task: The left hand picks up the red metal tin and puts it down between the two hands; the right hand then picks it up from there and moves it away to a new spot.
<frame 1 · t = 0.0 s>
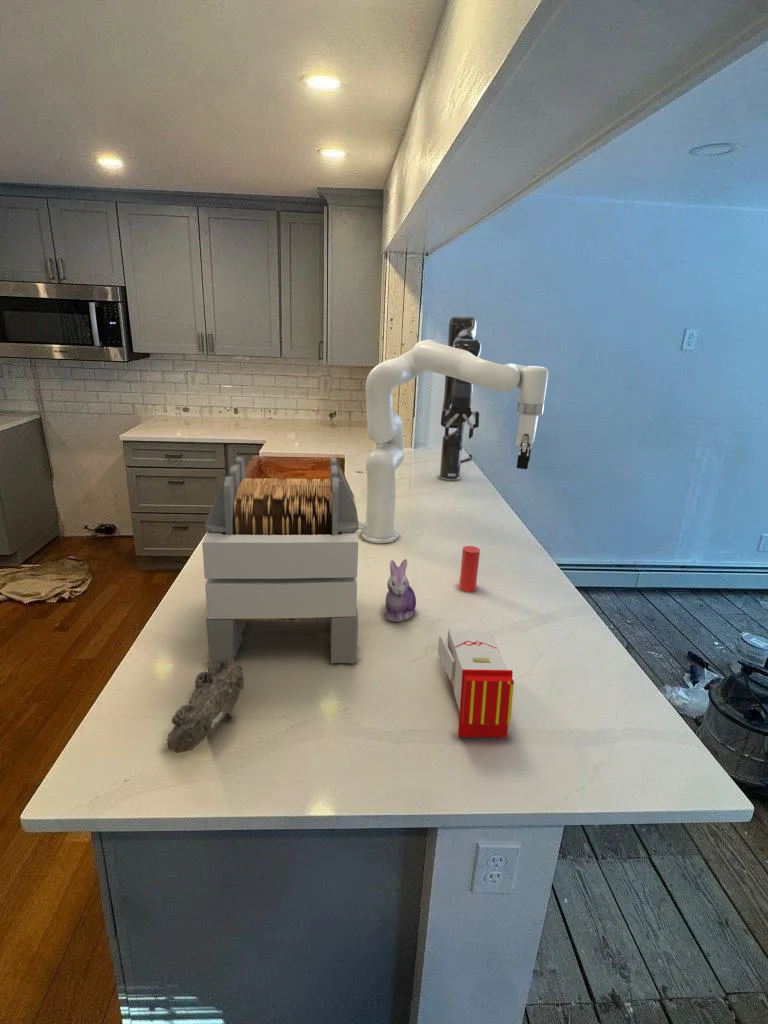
left hand: (523, 464, 174), 31 cm above the counter, tool pointing down, fingers open, 9 cm apart
right hand: (458, 437, 217), 29 cm above the counter, tool pointing down, fingers open, 8 cm apart
toy: (469, 691, 119), on the counter
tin: (467, 588, 163), on the counter
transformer: (287, 626, 140), on the counter
figurine: (399, 614, 147), on the counter
fossil: (212, 717, 108), on the counter
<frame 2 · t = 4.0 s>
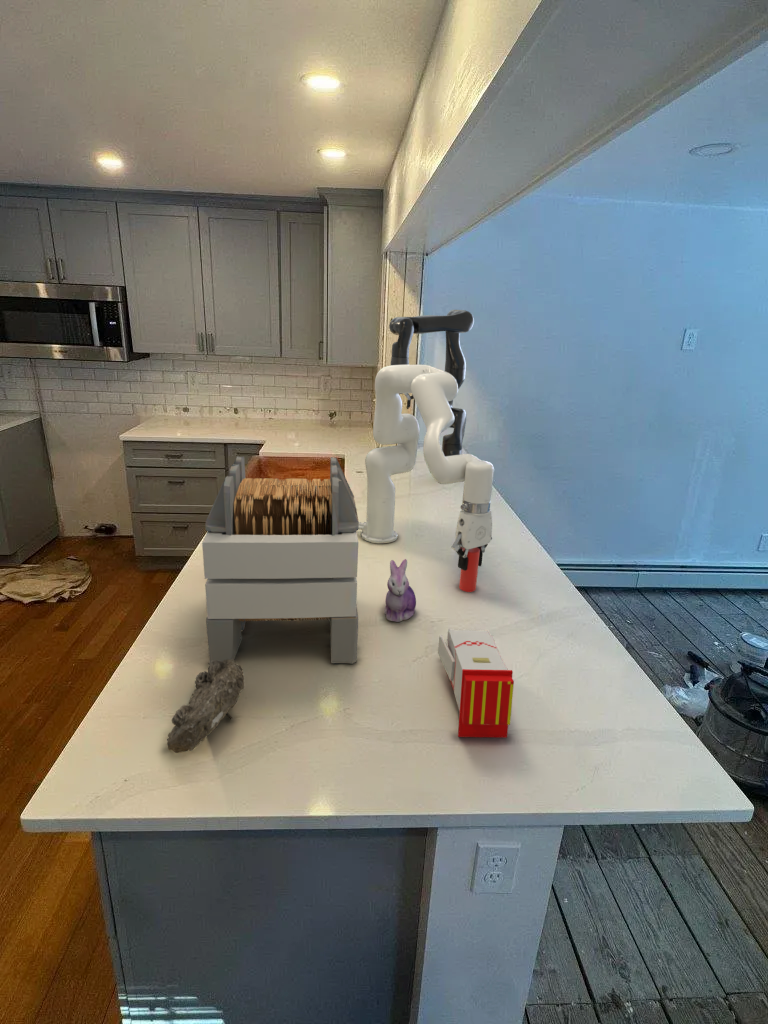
left hand: (469, 565, 161), 7 cm above the counter, tool pointing down, fingers closed on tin, 4 cm apart
right hand: (397, 408, 238), 35 cm above the counter, tool pointing down, fingers open, 8 cm apart
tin: (467, 588, 163), on the counter, touching left hand
everything else where it was.
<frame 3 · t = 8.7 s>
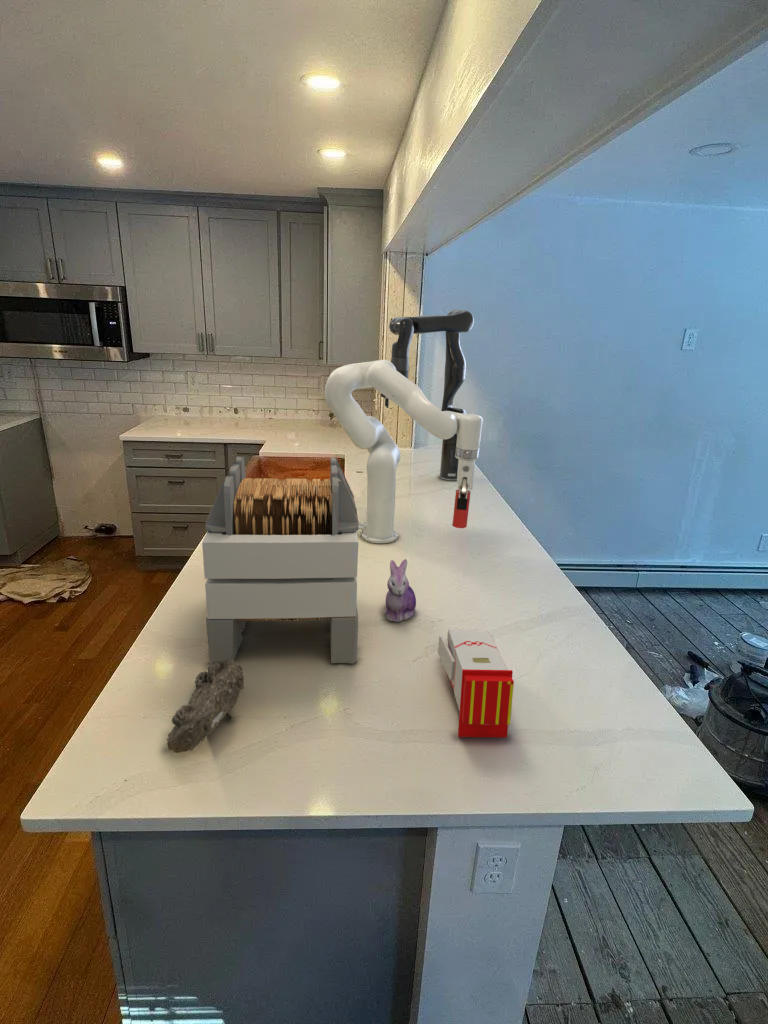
left hand: (461, 506, 188), 14 cm above the counter, tool pointing down, fingers closed on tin, 4 cm apart
right hand: (397, 408, 238), 35 cm above the counter, tool pointing down, fingers open, 8 cm apart
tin: (459, 525, 190), point 7 cm above the counter, touching left hand
everything else where it was.
when the left hand's fingers open (8 cm above the counter, at t = 13.6 s): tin drops 1 cm, on the counter.
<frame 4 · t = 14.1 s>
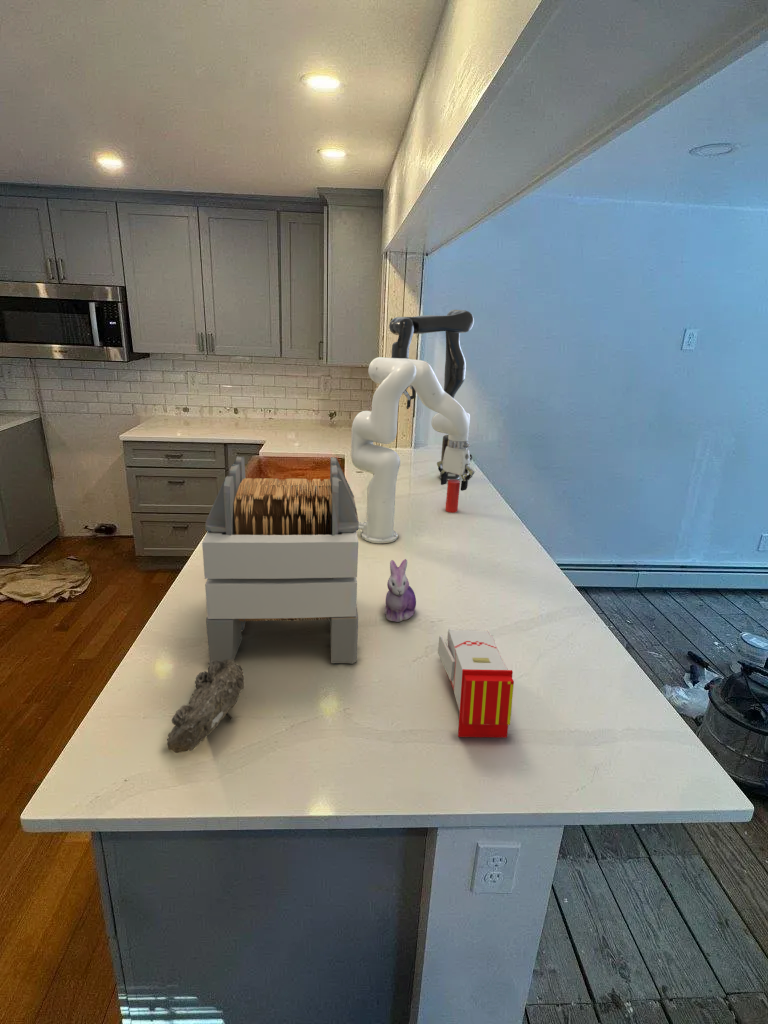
left hand: (453, 487, 222), 10 cm above the counter, tool pointing down, fingers open, 9 cm apart
right hand: (397, 408, 238), 35 cm above the counter, tool pointing down, fingers open, 8 cm apart
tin: (451, 510, 226), on the counter
everything else where it was.
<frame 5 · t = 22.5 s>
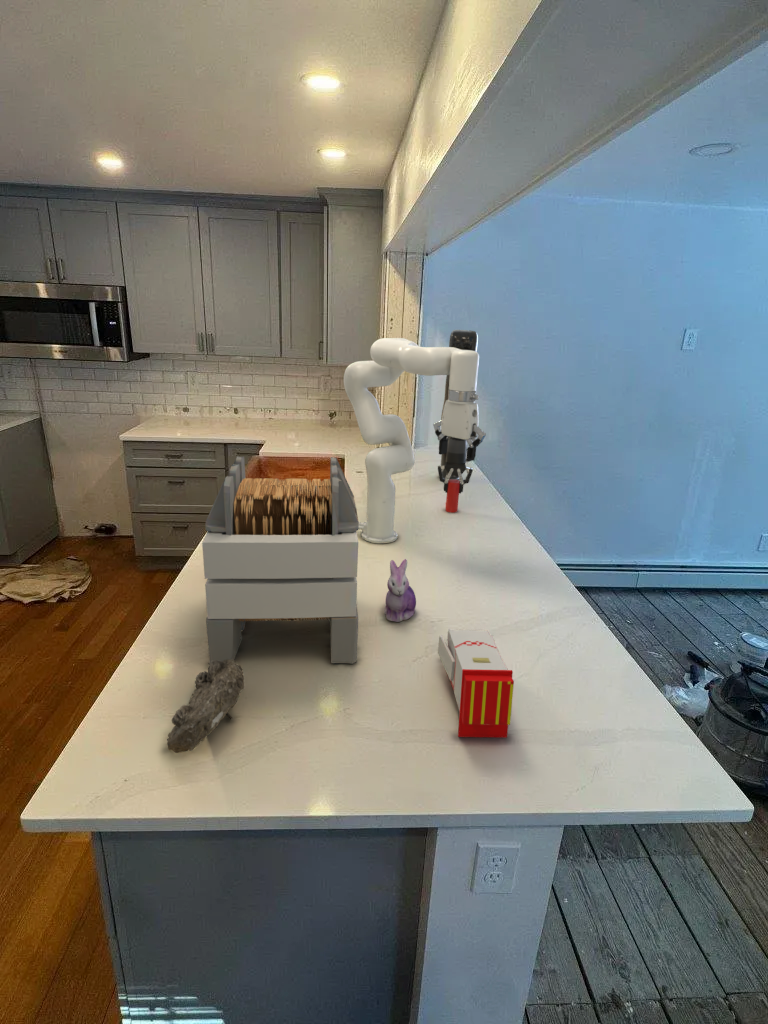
left hand: (456, 457, 162), 36 cm above the counter, tool pointing down, fingers open, 9 cm apart
right hand: (453, 492, 223), 8 cm above the counter, tool pointing down, fingers closed on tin, 4 cm apart
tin: (451, 510, 226), on the counter, touching right hand
everything else where it was.
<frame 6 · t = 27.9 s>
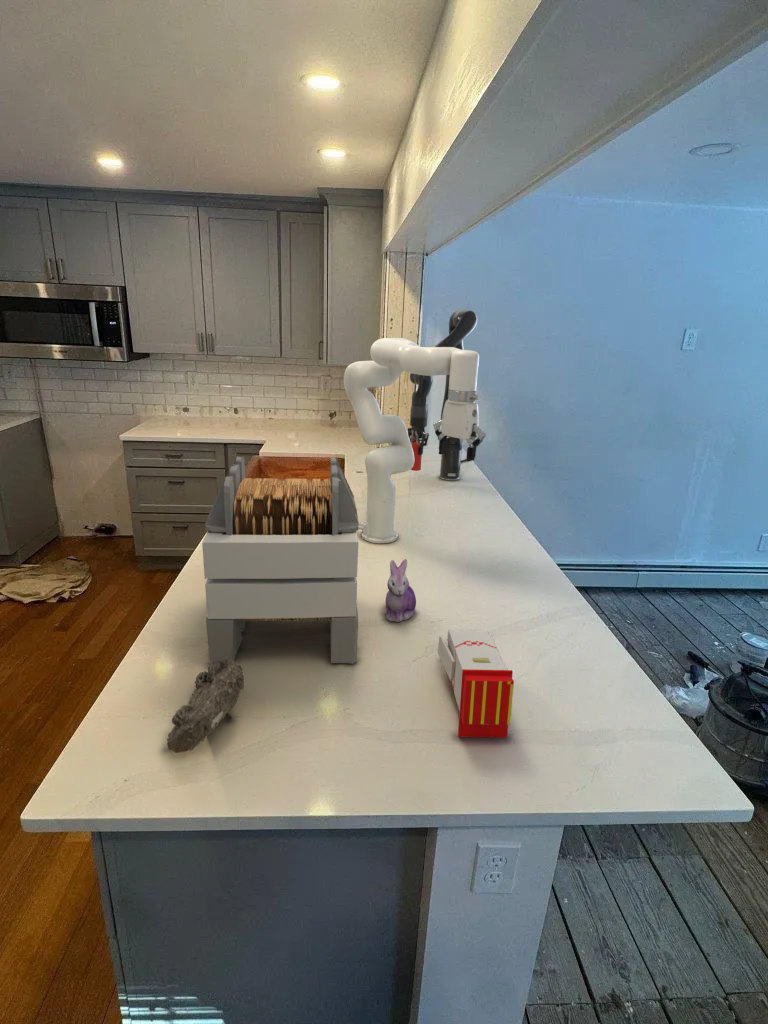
left hand: (456, 457, 162), 36 cm above the counter, tool pointing down, fingers open, 9 cm apart
right hand: (416, 452, 254), 14 cm above the counter, tool pointing down, fingers closed on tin, 4 cm apart
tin: (415, 469, 257), point 7 cm above the counter, touching right hand
everything else where it was.
when the right hand's fingers open (9 cm above the counter, at t = 33.7 s): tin drops 1 cm, on the counter.
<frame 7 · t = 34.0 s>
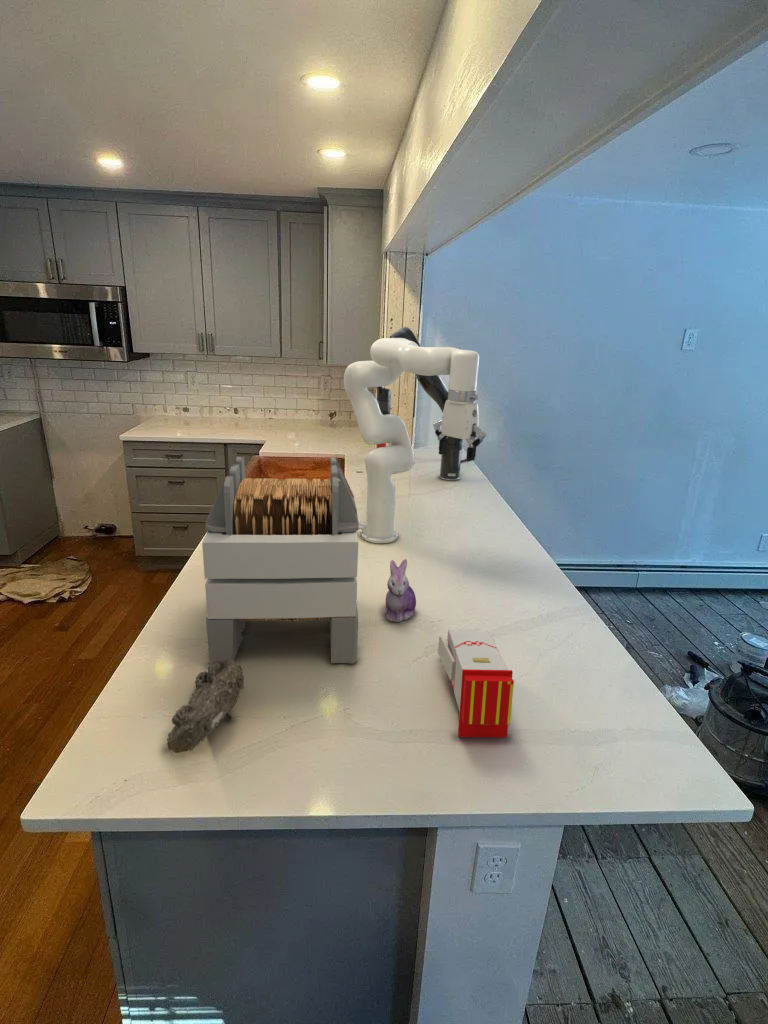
left hand: (456, 457, 162), 36 cm above the counter, tool pointing down, fingers open, 9 cm apart
right hand: (381, 441, 294), 10 cm above the counter, tool pointing down, fingers open, 7 cm apart
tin: (380, 459, 298), on the counter
everything else where it was.
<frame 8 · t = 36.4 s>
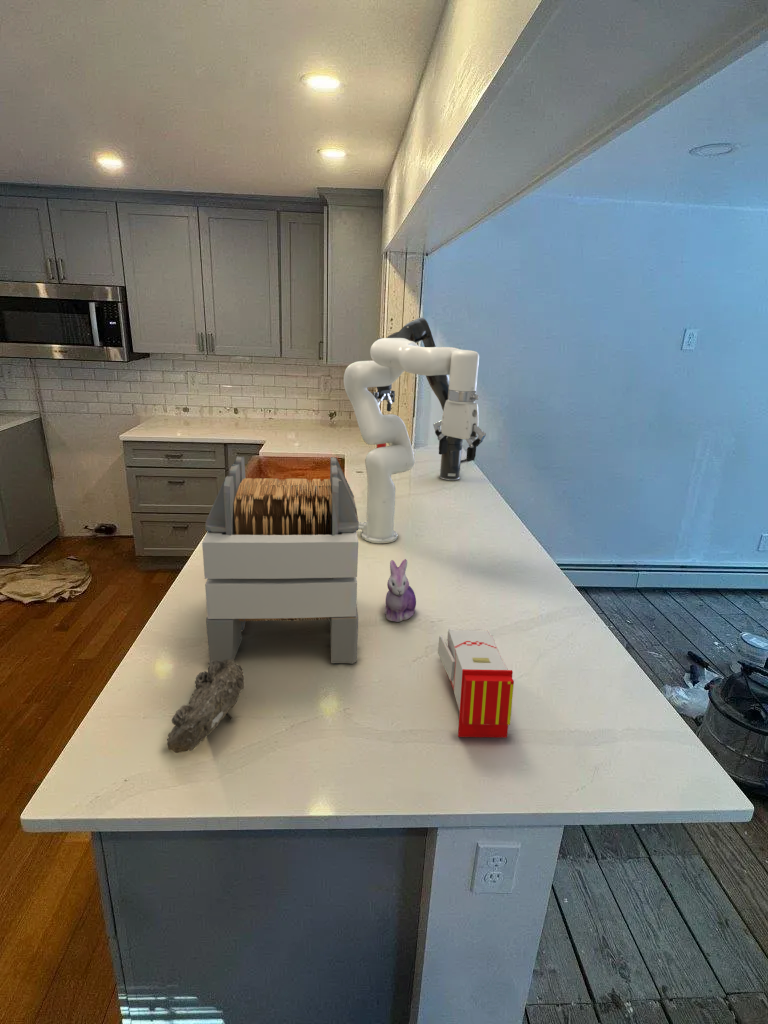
left hand: (456, 457, 162), 36 cm above the counter, tool pointing down, fingers open, 9 cm apart
right hand: (383, 411, 289), 25 cm above the counter, tool pointing down, fingers open, 8 cm apart
nothing on the counter moved.
at the end: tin inside the target area (0.1 cm from its centre), on the counter; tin tilted 0°; the two hands never held the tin at the same time; the left hand is holding nothing; the right hand is holding nothing; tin at rest at the end (0.0 cm/s) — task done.
